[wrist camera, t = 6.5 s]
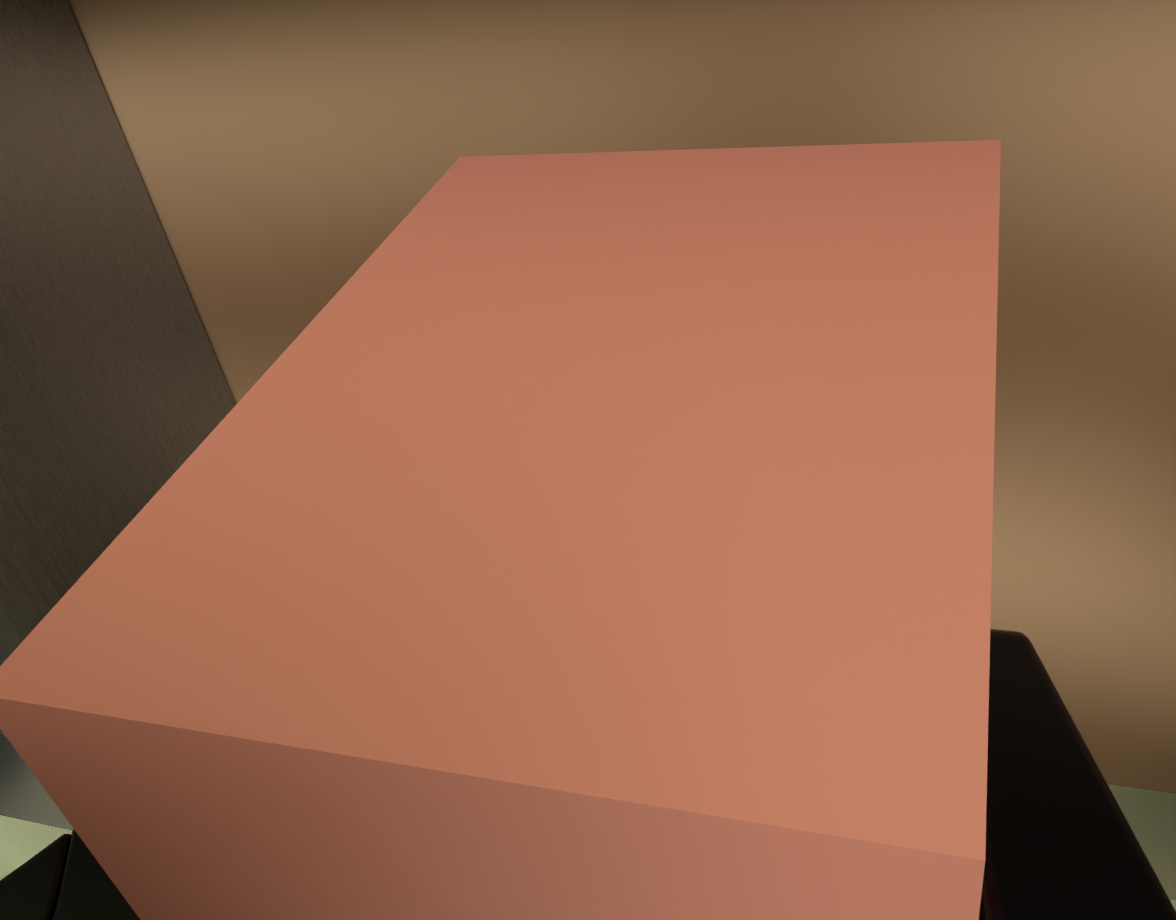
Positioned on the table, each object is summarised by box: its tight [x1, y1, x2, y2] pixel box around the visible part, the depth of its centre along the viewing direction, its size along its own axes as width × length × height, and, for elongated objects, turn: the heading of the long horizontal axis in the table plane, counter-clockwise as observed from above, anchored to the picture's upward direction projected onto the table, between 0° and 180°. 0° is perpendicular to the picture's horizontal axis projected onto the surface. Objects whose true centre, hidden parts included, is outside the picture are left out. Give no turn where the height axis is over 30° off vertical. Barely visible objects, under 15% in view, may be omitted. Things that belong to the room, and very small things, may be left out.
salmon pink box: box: [0, 140, 1001, 920], centre depth 8 cm, size 7×4×6 cm, turn 10°
